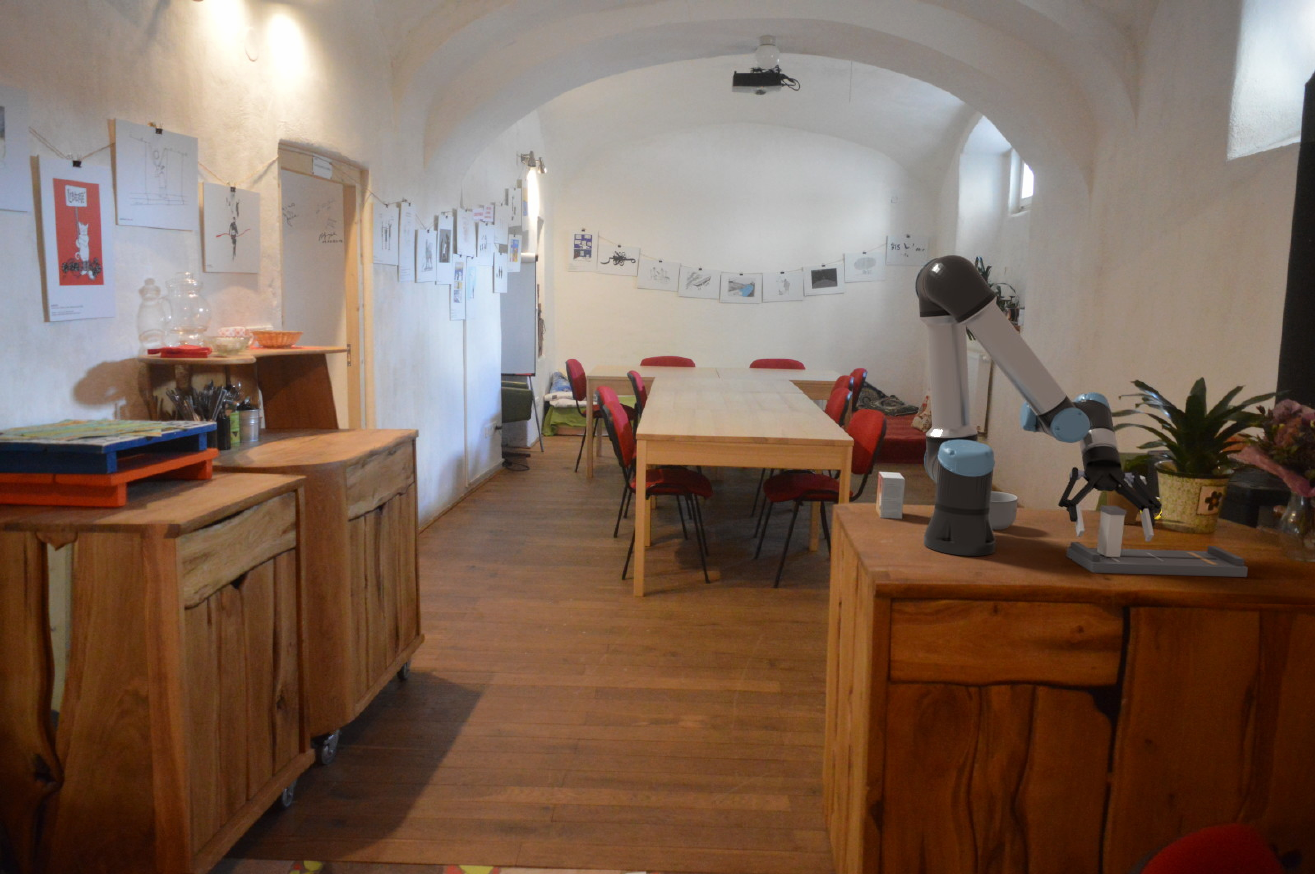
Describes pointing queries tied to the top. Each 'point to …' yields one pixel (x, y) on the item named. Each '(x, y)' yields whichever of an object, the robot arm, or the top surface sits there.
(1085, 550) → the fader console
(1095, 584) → the top surface
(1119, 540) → the fader knob
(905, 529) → the top surface
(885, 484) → the small box
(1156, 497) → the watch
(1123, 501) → the disposable coffee cup
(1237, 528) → the top surface
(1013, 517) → the teacup
